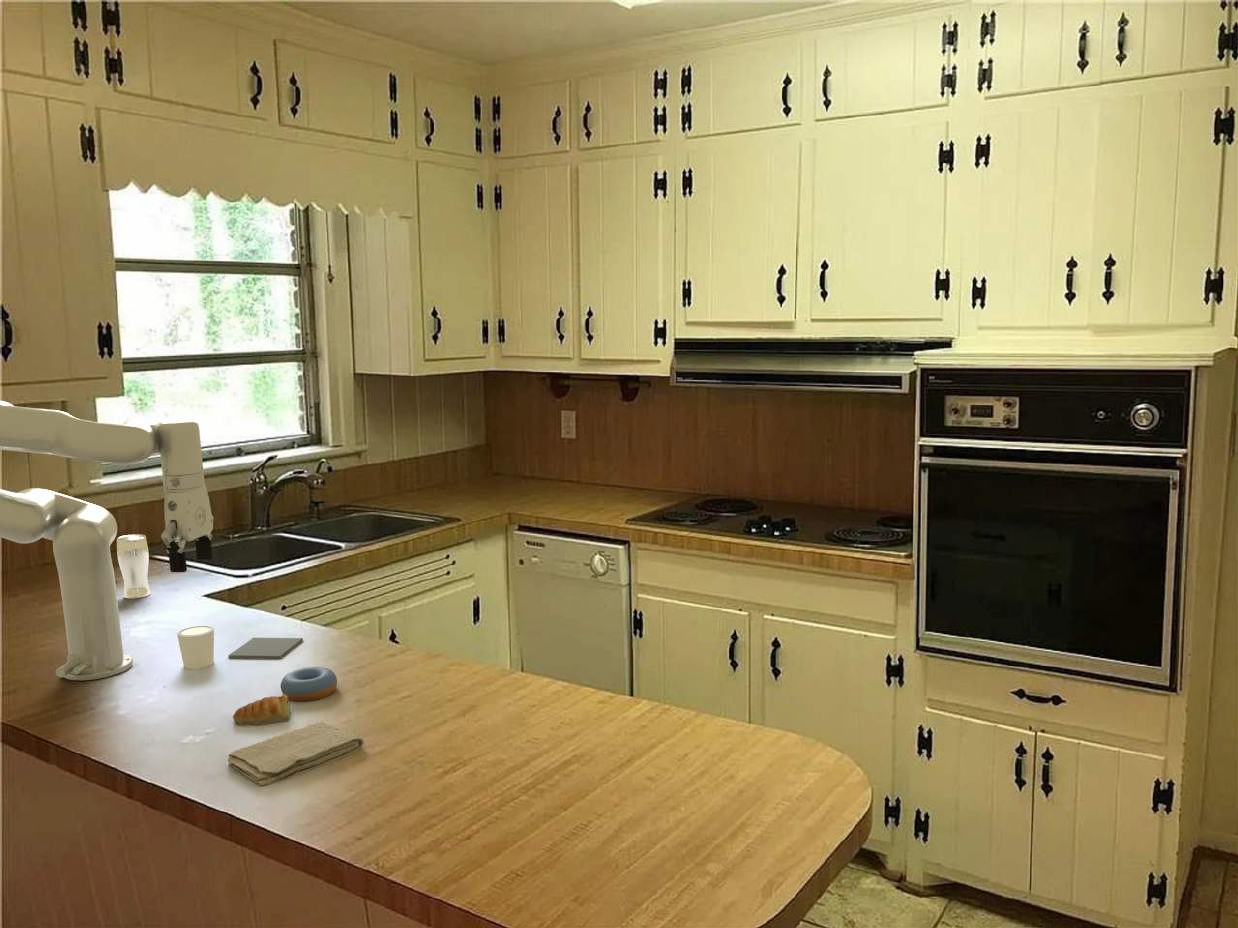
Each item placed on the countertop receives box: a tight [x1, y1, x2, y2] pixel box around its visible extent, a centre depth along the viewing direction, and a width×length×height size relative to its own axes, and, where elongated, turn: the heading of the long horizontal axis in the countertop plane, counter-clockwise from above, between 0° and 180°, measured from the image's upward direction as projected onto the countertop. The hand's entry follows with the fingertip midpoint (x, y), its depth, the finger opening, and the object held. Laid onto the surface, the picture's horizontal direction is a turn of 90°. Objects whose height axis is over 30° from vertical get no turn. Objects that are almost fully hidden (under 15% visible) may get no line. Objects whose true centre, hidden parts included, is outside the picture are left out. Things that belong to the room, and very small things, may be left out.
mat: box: [228, 637, 304, 660], centre depth 210 cm, size 11×11×1 cm
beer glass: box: [116, 533, 152, 600], centre depth 252 cm, size 7×7×15 cm
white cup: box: [176, 625, 215, 670], centre depth 202 cm, size 7×7×7 cm
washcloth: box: [227, 721, 365, 787], centre depth 159 cm, size 12×18×3 cm, turn 138°
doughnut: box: [280, 666, 338, 702], centre depth 186 cm, size 10×10×5 cm
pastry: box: [232, 693, 291, 726], centre depth 175 cm, size 9×7×4 cm
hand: (192, 565), depth 204 cm, fingers open, 9 cm apart
